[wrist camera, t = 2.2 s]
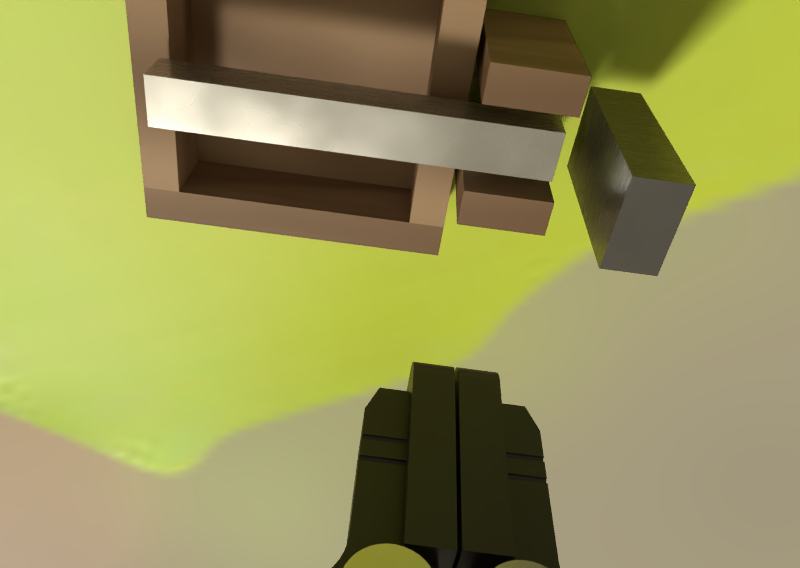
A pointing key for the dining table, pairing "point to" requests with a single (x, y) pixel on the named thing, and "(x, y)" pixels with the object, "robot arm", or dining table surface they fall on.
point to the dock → (363, 66)
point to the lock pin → (452, 142)
